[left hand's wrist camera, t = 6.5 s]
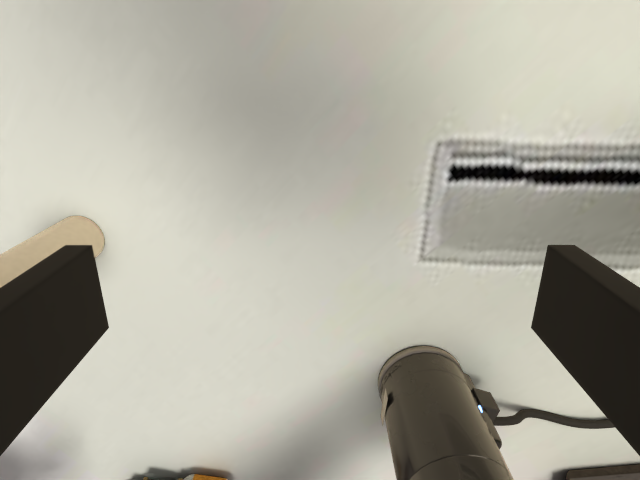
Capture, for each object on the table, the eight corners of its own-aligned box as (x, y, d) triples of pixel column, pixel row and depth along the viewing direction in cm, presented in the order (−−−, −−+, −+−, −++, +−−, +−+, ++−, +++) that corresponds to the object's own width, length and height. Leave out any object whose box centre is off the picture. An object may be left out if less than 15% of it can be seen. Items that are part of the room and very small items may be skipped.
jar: (106, 261, 43) (1, 352, 29) (59, 256, 42) (-70, 345, 28) (103, 218, 41) (-10, 292, 27) (54, 212, 41) (-84, 283, 27)
